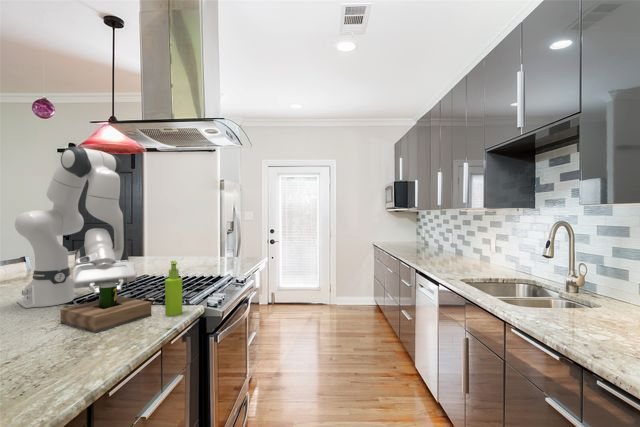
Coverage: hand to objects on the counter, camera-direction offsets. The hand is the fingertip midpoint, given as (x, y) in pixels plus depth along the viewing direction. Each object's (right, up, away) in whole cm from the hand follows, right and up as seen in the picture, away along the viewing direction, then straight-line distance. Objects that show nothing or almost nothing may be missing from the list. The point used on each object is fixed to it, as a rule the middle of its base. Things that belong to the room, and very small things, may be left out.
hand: (108, 292), depth 120 cm
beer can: (0, -9, 0) cm, 9 cm away
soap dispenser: (+20, -10, +7) cm, 24 cm away
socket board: (-1, -10, +1) cm, 10 cm away
